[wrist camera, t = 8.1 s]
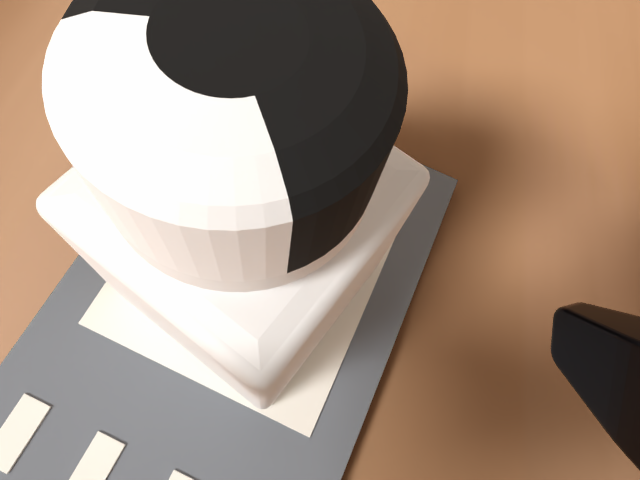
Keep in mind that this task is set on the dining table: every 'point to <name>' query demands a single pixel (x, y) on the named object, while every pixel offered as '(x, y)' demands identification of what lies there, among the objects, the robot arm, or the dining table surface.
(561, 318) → the robot arm
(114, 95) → the medicine bottle
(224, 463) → the label mat
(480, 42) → the dining table surface
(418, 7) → the dining table surface
